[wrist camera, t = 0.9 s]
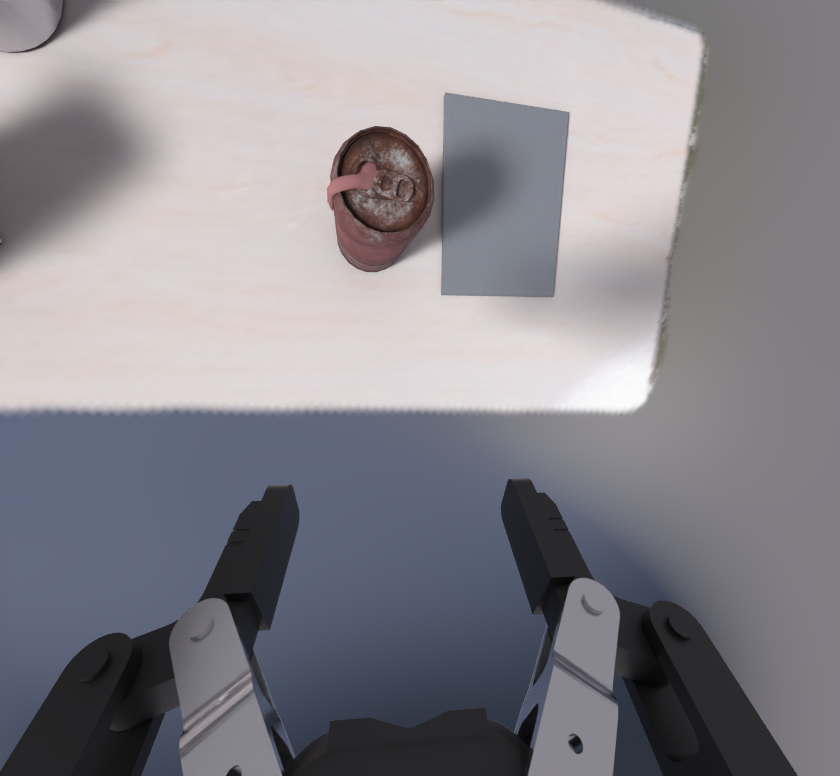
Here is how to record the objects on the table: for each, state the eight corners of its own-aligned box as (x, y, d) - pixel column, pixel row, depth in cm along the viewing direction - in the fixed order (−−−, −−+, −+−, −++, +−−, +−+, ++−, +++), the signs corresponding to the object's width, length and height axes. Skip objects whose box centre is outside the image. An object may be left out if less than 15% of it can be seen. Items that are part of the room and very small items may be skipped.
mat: (441, 295, 34) (442, 294, 33) (444, 96, 30) (445, 92, 30) (550, 296, 37) (553, 296, 36) (565, 115, 33) (568, 112, 32)
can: (324, 217, 30) (306, 135, 17) (387, 198, 31) (419, 105, 17) (348, 281, 32) (350, 254, 18) (408, 262, 32) (451, 221, 19)
